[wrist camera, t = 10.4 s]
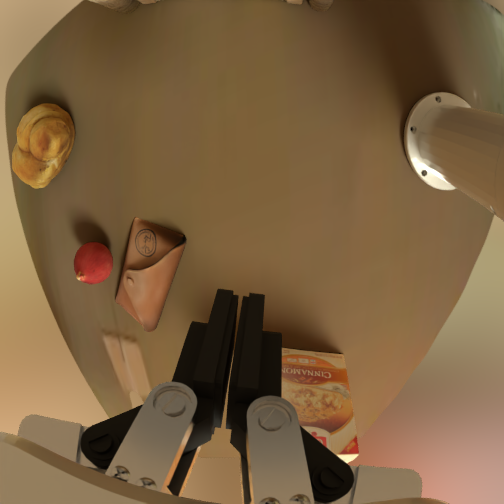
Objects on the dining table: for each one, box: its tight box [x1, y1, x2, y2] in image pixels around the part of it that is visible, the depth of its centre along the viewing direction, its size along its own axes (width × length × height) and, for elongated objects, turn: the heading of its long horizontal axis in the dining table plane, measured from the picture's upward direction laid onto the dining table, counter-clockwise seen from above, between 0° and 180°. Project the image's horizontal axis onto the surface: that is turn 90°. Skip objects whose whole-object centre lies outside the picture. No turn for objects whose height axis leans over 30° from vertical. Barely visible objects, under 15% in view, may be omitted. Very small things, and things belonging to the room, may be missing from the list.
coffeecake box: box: [282, 348, 359, 463], centre depth 40 cm, size 15×7×20 cm, turn 80°
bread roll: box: [12, 103, 75, 188], centre depth 28 cm, size 13×10×8 cm
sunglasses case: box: [115, 217, 186, 332], centre depth 40 cm, size 18×7×7 cm
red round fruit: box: [74, 242, 113, 284], centre depth 36 cm, size 6×6×8 cm
